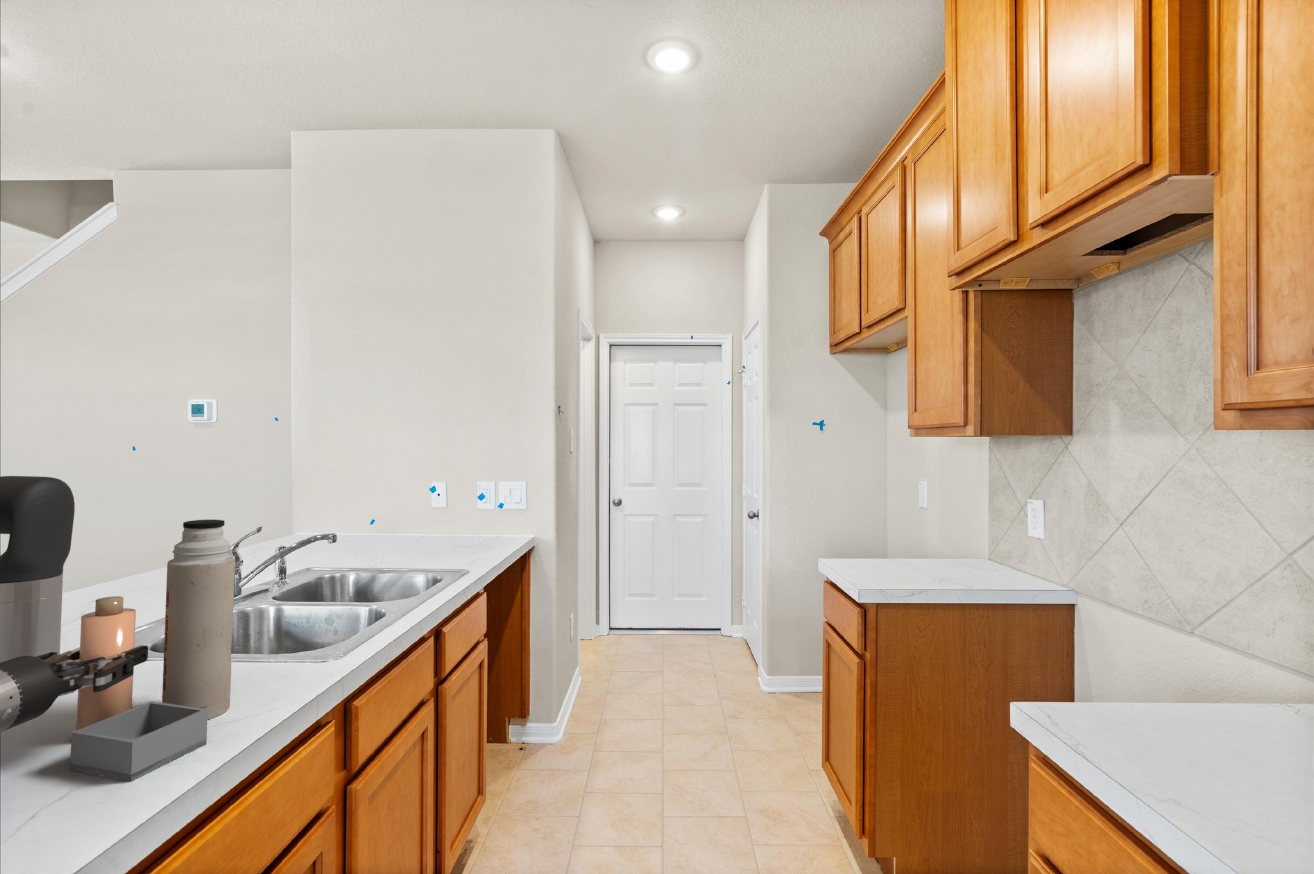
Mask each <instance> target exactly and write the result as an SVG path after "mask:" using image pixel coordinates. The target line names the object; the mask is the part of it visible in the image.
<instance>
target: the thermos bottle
mask: <svg viewBox="0 0 1314 874" xmlns="http://www.w3.org/2000/svg"><path fill="white" fill-rule="evenodd" d="M224 526H225V520H223V519H196V520H186V521H183V522H182V527H183V528H182V529H183V531H182V535H181V541H180V542H178V543H175V544H174V547H173V550H172V553H173V558H172V559H169V560H168V561H167V563H166V564H167V565H166V590H165V593H166V594H165V596H166V597H165V616H164V617H165V618H164V641H163V643H164V644H163V645H164V646H163V664H162V665H163V670H162V691H161V692H162V695H161V696H162V697H161V703H167V704H174V705H181V706H188V707H195V708H202V709H208V715H207V721H208V720H210V719H213V718H216V717H218V716H221V715H222V714H224V713H226V712H227V711H228V710H229V709H230V706H231V683H232V681H231V680H232V644H233V633H234V631H233V627H234V626H233V625H234V601H235V599H234V597H235V574H236V573H235V572H236V571H235V570H236V557H235V555H232V554H231V551H232V549H231V547H232V546H231V543H230V541H228V540H226V539H225V538H224V529H223V527H224Z"/></svg>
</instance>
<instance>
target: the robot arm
mask: <svg viewBox="0 0 1314 874" xmlns="http://www.w3.org/2000/svg"><path fill="white" fill-rule="evenodd" d="M75 504H76V503H75V497H74V494H73V491H72V489H71V487H70V486H69V484H68V483H66V482H65V481H64V480H62V479H60V478H57V477H52V476H51V477H50V476H36V475H34V476H32V475H31V476H29V475H4V476H2V475H1V476H0V535H9V536H8V537H9V538H8V543H7V548H6V550H5V551H4V552H3V553H1V555H0V733H3V732H5V731H8V730H10V729H12V728H14V727H17V726H19V725H22V724H25V723H27V722H30V721H31V720H34V719H37V718H38V717H40V716H42V715H43V714H45V713H46V712H47V711H48V710H49V709H50V708H51V707H52V706H53V704H54V703H55V702H56V700H57V698H59V697H62V696H67V695H70V694H73V693H75V692H77V691H78V689H81V688H85V687H89V686H93V692H101V691H103V690H106V689H108V688H109V687H111V686H113V685H115V684H117V683H119V682H121V681H123V680H125V679H127V678H129V677H130V676H132V675H133V676H134V673H135V672H134V670H135V669H134V668H135V666H138V665H140V664H143V663H146V661H147V660H148V659H149V646H148V645H139V646H136V647H134V648H133V649H130V650H128V651H125V652H122V653H118V654H115V655H111V656H107V657H102V656H99V655H95V656H91V657H87V658H83V659H80V649H79V650H77V651H74V650H69V651H66V652H63V653H61V631H62V613H63V612H62V609H63V608H62V607H63V585H64V584H63V583H64V581H63V579H64V577H63V576H64V574H63V573H64V565H65V563H66V561H67V559H68V557H69V555H70V552H71V546H72V537H73V530H74V520H75V506H76V505H75ZM112 661H113V662H112ZM108 662H112V663H110V664H108V665H105V664H106V663H108ZM90 663H93V674H92V675H89V671H90V667H89V665H88V664H90Z"/></svg>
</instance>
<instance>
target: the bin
mask: <svg viewBox="0 0 1314 874" xmlns="http://www.w3.org/2000/svg"><path fill="white" fill-rule="evenodd" d="M207 715H208V709H202V708H195V707H188V706H181V705H174V704H167V703H162V701H161V702H160V701H153V700H150V701H149V702H146V703H144V704H141V705H138V706H136V707H134V708H133V707H132V709H130V710H128V711H125V712H123V713H120V714H117V715H115V716H112V717H110V718H107V719H105V720H102V721H99V722H97V723H94V724H92V725H89V726H87V727H84V728H82V729H79V730H76V729H75V731H71V735H70V737H71V738H70V762H69V764H70V765H69V770H70V771H71V772H76V773H82V774H88V775H92V776H93V775H94V776H99V777H103V778H109V779H115V780H120V781H126V782H133V781H135V780H137V779H139V778H141V777H143V776H145V775H147V774H149V773H151V772H153V771H155V770H157V769H160V768H161V767H163V766H165V765H167V764H169V763H171V762H174V761H175V760H177V759H179V758H182V757H183V756H185V755H187V754H190V753H191V752H192V751H193V752H194V751H195V750H196V749H197V750H198V749H199V748H201V747H203V746H205V745H207V740H208V739H207V738H208V720H207Z"/></svg>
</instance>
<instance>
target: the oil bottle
mask: <svg viewBox="0 0 1314 874" xmlns="http://www.w3.org/2000/svg"><path fill="white" fill-rule="evenodd" d="M94 607H95V608H94V609H95V610H94V611H93V612H88V613H85V614H82V616H80V617H81V618H80V637H79V638H80V640H79V650H80V659H83V658H87V657H91V656H95V655H99V656H102V657H107V656H111V655H115V654H118V653H122V652H125V651H128V650H130V649H133V648H135V644H136V643H135V642H136V640H135V639H136V638H135V637H136V621H137V620H136V617H137V614H136V613H137V610H136V609H135V608H128V607H124V596H122V595H121V596H119V595H117V596H116V595H115V596H105V597H100V598H97V599H96V600H95V606H94ZM112 662H113V661H112ZM112 662H108V663H106V664H105V665H108V664H110V663H112ZM88 665H89V667H90V671H89V675H92V674H93V663H90V664H88ZM133 690H134V674H133V675H132V676H130V677H129V678H127V679H125V680H123V681H121V682H119V683H117V684H115V685H113V686H111V687H109V688H108V689H106V690H103V691H101V692H93V686H89V687H85V688H81V689H78V690H77V709H76V711H77V712H76V729H75V731H76V730H79V729H82V728H84V727H87V726H89V725H92V724H94V723H97V722H99V721H102V720H105V719H107V718H110V717H112V716H115V715H117V714H120V713H123V712H125V711H128V710H130V709H133Z"/></svg>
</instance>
